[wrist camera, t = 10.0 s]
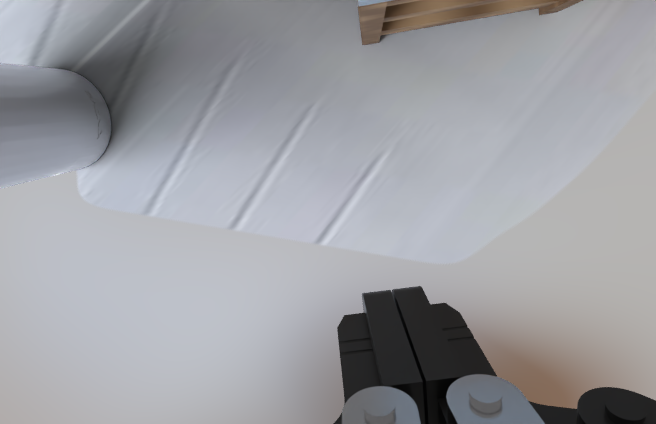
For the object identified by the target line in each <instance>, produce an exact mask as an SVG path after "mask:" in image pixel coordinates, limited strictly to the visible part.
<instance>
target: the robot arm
mask: <svg viewBox="0 0 656 424" xmlns="http://www.w3.org/2000/svg"><path fill="white" fill-rule="evenodd" d="M110 135H111V119H110V113H109V110H108V107H107V105H106V102H105V100H104V99H103V97H102V95H101V94H100V92H99V91H98V90H97V89H96V88H95V86H94V85H93V84H92V83H91V82H89V81H88V80H87V79H85V78H84V77H83V76H81V75H79V74H77V73H75V72H72V71H68V70H65V69H56V68H45V67H35V66H26V65H16V64H5V63H0V189H1V188H5V187H8V186H13V185H17V184H21V183H25V182H29V181H33V180H37V179H41V178H45V177H50V176H54V175H58V174H62V173H66V172H70V171H74V170H78V169H82V168H85V167H87V166H90V165H91V164H93V163H94V162H95V161H97V160H98V159H99V158H100V157H101V155H102V154H103V153H104V151H105V149H106V147H107V146H108V143H109V139H110ZM362 300H363V310H364V313H359V314H351V315H344V317H343V319H342V321H341V323H340V324H339V326H338V339H339V349H340V358H341V367H342V378H343V388H344V397H345V404H344V407H343V411H342V413H341V415H340V417H339V418H338V419H337V421H336V422H335V423H334V424H656V401H655V400H653V399H650V398H648V397H645V396H643V395H641V394H638V393H635V392H632V391H629V390H625V389H620V388H612V387H602V388H595V389H592V390H589V391H587V392H585V393H584V394H583V395H582V396H581V397H580V399H579V401H578V407H577V409H571V408H563V407H554V406H546V405H540V404H536V403H533V402H530V401H528V400H527V399H526V398H525V396H524V395H523V394H522V392H521V391H520V390H519V389H518V388H517V387H516V386H514V385H513V384H512V383H510V382H508V381H506V380H504V379H502V378H499V377H497V375H496V374H495V372H494V370H493V369H492V367H491V365H490V363H489V362H488V360H487V358H486V357H485V355H484V353H483V352H482V350H481V348H480V346H479V345H478V343H477V341H476V340H475V339H474V337H473V335H472V333H471V331H470V329H469V328H467V325H466V323H465V321H464V319H463V318H462V316H461V314H460V313H459V312H458V311H456V310H455V309H453V308H452V307H450V306H449V305H447V304H446V303H440V304H432V305H430V303H429V301H428V299H427V297H426V295H425V293H424V291H423V289H422V287H421V286H418V287H409V288H401V289H393V290H392V292H391V290H386V291H378V292H370V293H363V294H362Z"/></svg>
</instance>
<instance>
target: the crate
mask: <svg viewBox="0 0 656 424" xmlns="http://www.w3.org/2000/svg"><path fill="white" fill-rule="evenodd" d="M580 1H583V0H392V1H387V2H381V3H376V4H370V5H365V6H358V11H359V20H360V29H361V37H362V45H368V44H373V43H379V40H380V36H381V35H386V34H392V33H398V32H404V31H409V30H415V29H421V28H427V27H433V26H438V25H444V24H450V23H456V22H461V21H467V20H473V19H479V18H484V17H490V16H496V15H502V14H508V13H513V12H519V11H525V10H531V9H536V8H539V15H542V14H548V13H554V12H558V11H561V10H563V9H565V8H567V7H569V6H572V5H574V4H576V3H578V2H580ZM357 2H358V0H357Z"/></svg>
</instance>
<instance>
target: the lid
mask: <svg viewBox="0 0 656 424" xmlns="http://www.w3.org/2000/svg"><path fill="white" fill-rule="evenodd" d="M387 1H392V0H358V6H365V5H370V4H376V3H381V2H387Z"/></svg>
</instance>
